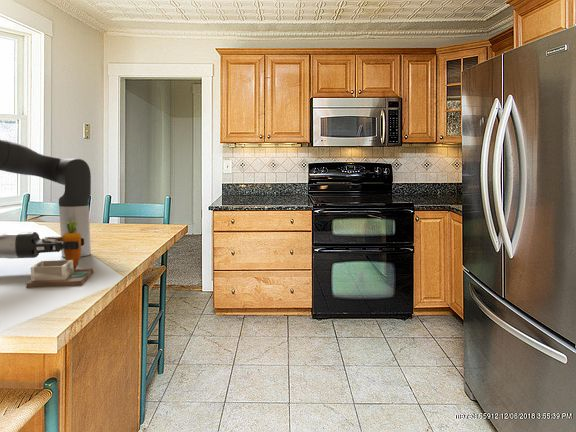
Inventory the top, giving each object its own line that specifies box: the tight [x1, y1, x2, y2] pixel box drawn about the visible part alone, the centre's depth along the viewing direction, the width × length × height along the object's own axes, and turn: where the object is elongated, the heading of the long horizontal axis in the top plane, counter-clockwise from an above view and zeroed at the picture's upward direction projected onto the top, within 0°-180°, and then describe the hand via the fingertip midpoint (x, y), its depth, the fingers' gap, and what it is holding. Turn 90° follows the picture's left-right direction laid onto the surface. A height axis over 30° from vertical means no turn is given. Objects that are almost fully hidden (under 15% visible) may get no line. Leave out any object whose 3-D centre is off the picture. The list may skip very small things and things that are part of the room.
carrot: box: [62, 220, 81, 270], centre depth 133 cm, size 5×5×15 cm
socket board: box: [25, 259, 94, 289], centre depth 123 cm, size 14×13×5 cm
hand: (81, 243), depth 134 cm, fingers open, 5 cm apart
